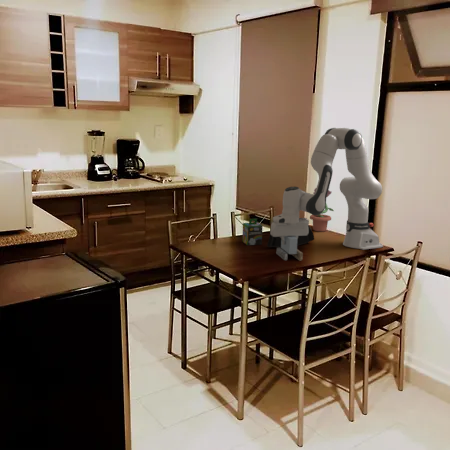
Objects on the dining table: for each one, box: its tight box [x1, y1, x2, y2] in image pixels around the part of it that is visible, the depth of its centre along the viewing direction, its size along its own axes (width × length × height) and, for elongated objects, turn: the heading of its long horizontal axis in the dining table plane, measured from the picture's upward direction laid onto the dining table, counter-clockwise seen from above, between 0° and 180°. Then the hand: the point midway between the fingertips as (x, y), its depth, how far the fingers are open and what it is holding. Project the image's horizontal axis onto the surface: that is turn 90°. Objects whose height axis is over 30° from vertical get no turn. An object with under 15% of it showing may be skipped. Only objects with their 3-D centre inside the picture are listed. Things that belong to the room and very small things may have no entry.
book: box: [280, 236, 298, 255], centre depth 245 cm, size 4×12×8 cm, turn 14°
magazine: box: [266, 225, 315, 248], centre depth 266 cm, size 17×3×30 cm
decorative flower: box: [309, 187, 335, 232], centre depth 303 cm, size 15×14×30 cm
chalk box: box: [242, 218, 263, 246], centre depth 270 cm, size 9×9×15 cm
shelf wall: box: [290, 248, 304, 262], centre depth 247 cm, size 2×16×4 cm, turn 14°
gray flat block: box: [275, 247, 289, 261], centre depth 245 cm, size 2×12×4 cm, turn 14°
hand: (288, 244), depth 245 cm, fingers closed on book, 4 cm apart
